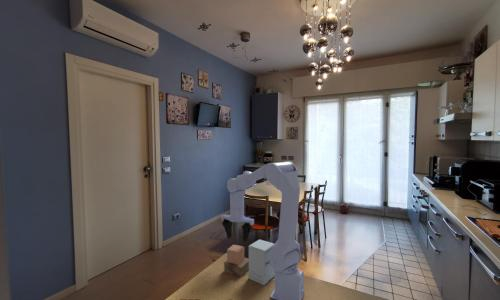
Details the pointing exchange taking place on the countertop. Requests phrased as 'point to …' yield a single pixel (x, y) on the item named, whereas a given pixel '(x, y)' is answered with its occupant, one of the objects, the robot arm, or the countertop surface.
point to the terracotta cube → (235, 254)
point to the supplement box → (260, 262)
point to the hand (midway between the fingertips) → (237, 239)
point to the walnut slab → (237, 267)
